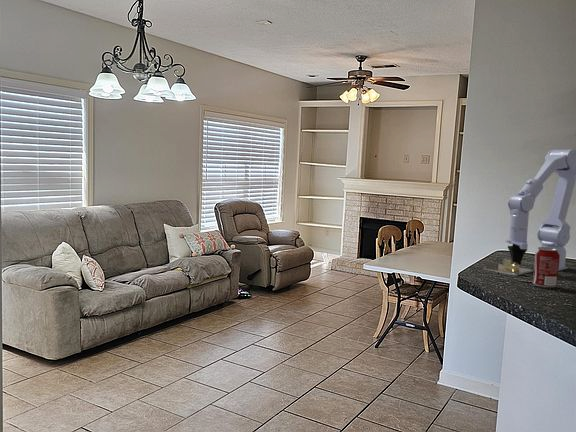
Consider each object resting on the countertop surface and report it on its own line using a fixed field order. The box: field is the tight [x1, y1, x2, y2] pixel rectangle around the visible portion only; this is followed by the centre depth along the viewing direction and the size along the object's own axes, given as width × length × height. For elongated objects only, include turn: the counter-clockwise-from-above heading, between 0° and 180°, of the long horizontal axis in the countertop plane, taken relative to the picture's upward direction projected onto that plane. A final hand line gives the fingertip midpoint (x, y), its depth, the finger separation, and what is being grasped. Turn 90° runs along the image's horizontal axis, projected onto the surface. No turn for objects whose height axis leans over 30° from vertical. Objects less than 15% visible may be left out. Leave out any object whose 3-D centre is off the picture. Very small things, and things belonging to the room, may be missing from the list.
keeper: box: [485, 261, 510, 272], centre depth 181 cm, size 4×7×2 cm, turn 41°
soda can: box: [532, 246, 560, 289], centre depth 158 cm, size 7×7×12 cm
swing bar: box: [502, 258, 521, 272], centre depth 181 cm, size 11×2×3 cm, turn 175°
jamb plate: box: [482, 263, 534, 277], centre depth 182 cm, size 13×12×1 cm
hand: (515, 266), depth 183 cm, fingers closed, pressing on swing bar
